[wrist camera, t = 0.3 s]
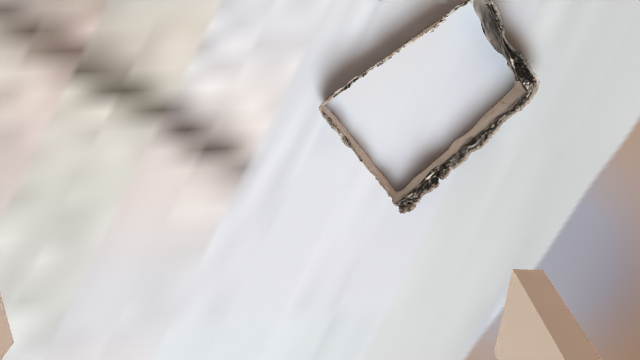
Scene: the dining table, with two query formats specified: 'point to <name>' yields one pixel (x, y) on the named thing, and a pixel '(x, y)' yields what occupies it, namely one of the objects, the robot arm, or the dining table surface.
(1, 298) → the robot arm
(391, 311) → the dining table surface
